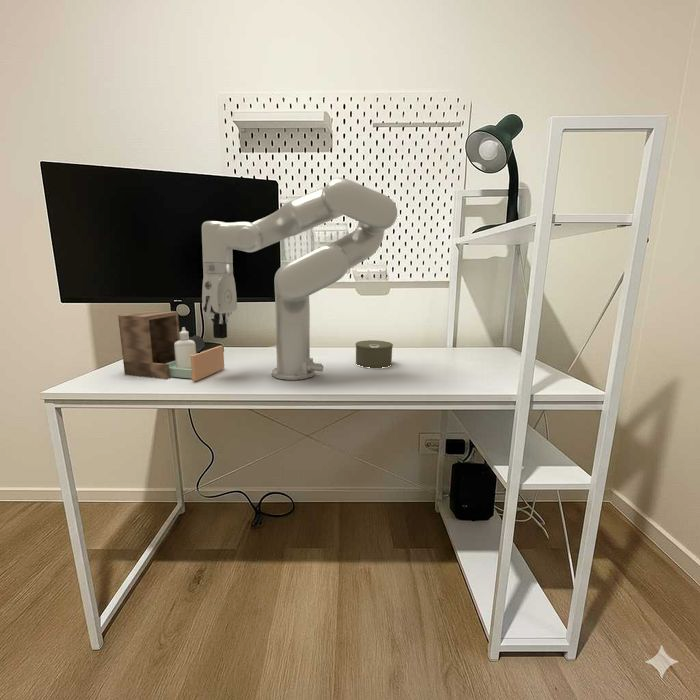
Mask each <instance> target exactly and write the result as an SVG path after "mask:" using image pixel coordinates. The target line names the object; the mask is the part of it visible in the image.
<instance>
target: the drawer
mask: <svg viewBox="0 0 700 700" xmlns="http://www.w3.org/2000/svg"><path fill="white" fill-rule="evenodd" d="M190 357H191V369H186V368H176V362H175V361H172V362H169V363H166V364H169V373H170V378H171V377H173V378H181V379H182V378H184V379H191V381H192V382H197V381H200V380H202V379H204V378H206V377H208V376H211V375H213V374H215V373H217V372H219V371H223V370H224V369H225V356H224V345H217V346H215V347H212V348H209V349H205V350H202V351H201V352H200V353H197V354H194V355H191V356H190Z"/></svg>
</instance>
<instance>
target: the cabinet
mask: <svg viewBox="0 0 700 700" xmlns="http://www.w3.org/2000/svg"><path fill="white" fill-rule="evenodd" d="M117 319H118V328H119V336H120V345H121V354H122V355H121V356H122V362H123V369H124V370H123V371H124V375H126V376H131V375H132V376H133V377H134V376H135V377H142V376H143V377H144V378H152V377H155V378H154V379H162V378H166V379H165V380H169V379H171V376H170V373H169V364H166V363H169V362H172V361H175V349H174V343H175V342H177V341H179V340H180V335H179V332H180V321H179V312H178V311H173V310H171V311H170V310H155V309H153V310H147V311H138V312H132V313H124V314H119V315H117ZM168 378H169V379H168Z"/></svg>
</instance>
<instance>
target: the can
mask: <svg viewBox="0 0 700 700" xmlns="http://www.w3.org/2000/svg"><path fill="white" fill-rule="evenodd" d="M393 346H394V344H393V343H392V342H389V341H384V340H361V341H357V342H356V343H355V365H356V364H357V365H360V366H363V367H370V368H382V367H388V366H390V365H391V366H392V357H393ZM357 365H356V366H357ZM391 366H390V367H391ZM388 368H389V367H388Z"/></svg>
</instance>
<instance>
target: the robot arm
mask: <svg viewBox="0 0 700 700" xmlns="http://www.w3.org/2000/svg"><path fill="white" fill-rule="evenodd" d="M342 216H345V217H347V218H350V219H352V220H354V221H357V222H358V223H357V226H356V227H355V229H354V230H353V231H352V232H350V233H348V234H347V235H344V236H343V237H340V238H339V239H337V240H335V241H333V242H330V243H328V244H324V245H321V246H319V247H318V248H316V249H314V250H312V251H310V252H307V254H304V255H302V256H301V257H299V258H296V259H294V260H292V261H290V262H288V263H285V264H283V265H281V266H280V267H279V268H278V269H277V271H276V272H275V274H274V281H273V282H274V284H273V285H274V297H275V298H274V299H275V301H274V303H275V305H274V306H275V341H276V342H275V343H276V344H275V345H276V348H275V349H276V350H275V351H276V367H275V368H273V369H272V370H271V376H272V377H273V378H275V379H279V380H284V379H285V381H287V380H289V381H299V380H305V379H309V377H310V378H312V377H314V376H315V375H316V372H321V373H322V372H323V371H324V368H325V367H324V364H322V363H319V362H318V363H317V362H316V363H315V362H314V358H313V357H311V343H310V342H311V339H310V337H311V336H310V335H311V331H310V330H311V329H310V327H311V326H310V321H311V313H310V296H312V295H314V294H315V293H318V292H319V291H321V290H323V289H325V288H327V287H329V286H331V285H333V284H335V283H336V282H338V281H339V280H341V279H342V278H343V277H344V276H345V275H346V274H347V272H348V270H351V269H352V268H354V267H356V266H357V265H360V264H361V263H362V262H364V261H366V260H368V259H369V258H372V256H373V255H374V254H375V253H376V252H377V251H378V250H379V248H380V246H381V244H382V243H383V239H384V237H385V235H384V234H385V231H386V230H388V229H389V228H392V226H394V224H395V223H396V220H397V219H398V218H397V217H398V208H397V205H396V203H395V202H394V201H393V199H392V198H390V197H388V195H385V194H384V193H381V192H379V191H377V190H374V189H372V188H369V187H366V185H365V186H364V185H362V184H360V183H358V182H356V181H353V180H350V179H347V178H344V177H336V178H333V179H332V180H330V181H329V182H328V183H327V184H326V185H325V186H322V187H321V188H318V189H316V190H314V191H312V192H310V193H306V194H304V195H302V196H298V197H296V198H294V199H291V200H289V201H288V202H286V203H284V204H283V205H282V206H281V207H280V208H279V209H277V210H276V211H274V212H273V213H270V214H269V215H267V216H265V217H262V218H260V219H257V220H254V221H253V222H250V221H234V222H231V221H230V222H225V221H219V220H218V221H217V220H206V221H204V222H203V223H202V224H201V244H202V245H201V246H202V269H203V271H202V272H203V273H202V274H203V279H202V289H201V292H202V293H201V300H202V301H201V302H202V310H203V312H204V313H205V318H206V319H209V320H211V323H212V326H213V327H212V330H213V334H212V335H213V338H215V339H226V338H227V337H228V325H227V323H228V322H229V316H231V315H232V314H233V312H235V311H236V310H237V309H238V302H237V301H238V299H237V298H238V297H237V290H236V289H237V288H236V281H235V277H234V267H233V266H234V265H233V263H234V261H233V258H234V257H233V256H234V255H233V250H237V251H242V252H246V253H254V252H257V251H259V250H262V249H264V248H266V247H269V246H271V245H273V244H276V243H279V242H280V241H283V240H286V239H288V238H291V237H294V236H297V235H299V234H301V233H304V232H306V231H309V230H311V229H313V228H315V227H318V226H321V225H323V224H325V223H329V222H330V221H333V220H335V219H337V218H340V217H342ZM298 379H299V380H298Z"/></svg>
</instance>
